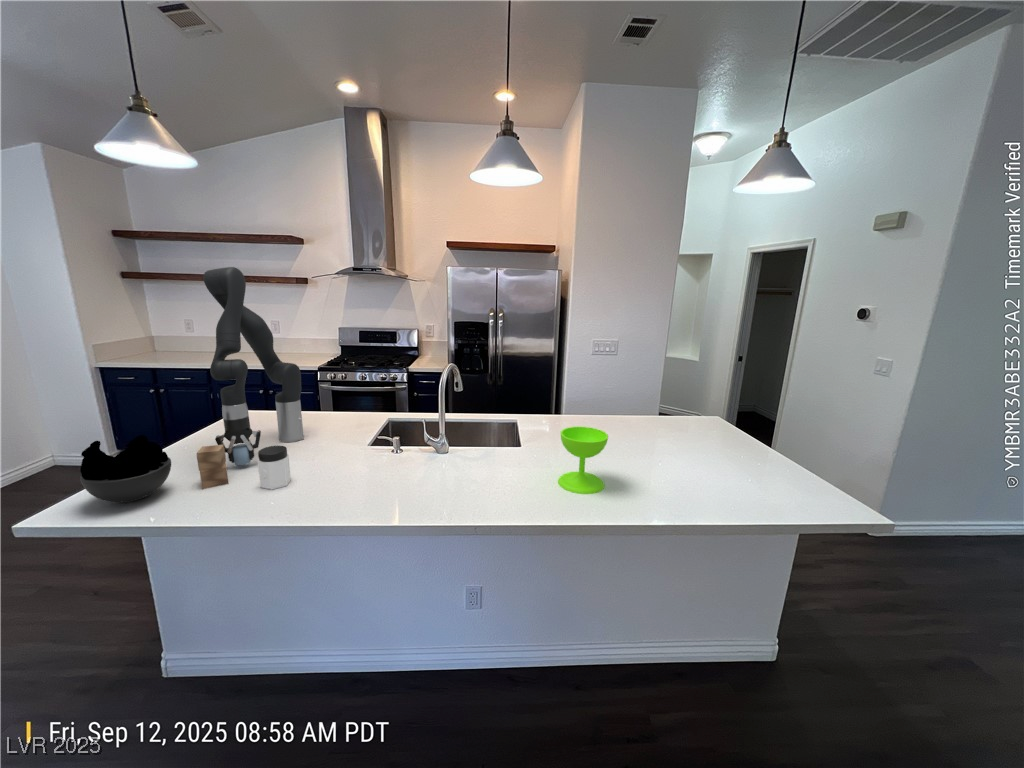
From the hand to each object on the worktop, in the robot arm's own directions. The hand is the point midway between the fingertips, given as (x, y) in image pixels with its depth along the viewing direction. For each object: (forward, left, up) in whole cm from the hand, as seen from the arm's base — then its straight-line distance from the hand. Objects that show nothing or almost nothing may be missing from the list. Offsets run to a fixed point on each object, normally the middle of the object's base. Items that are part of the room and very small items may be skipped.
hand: (242, 460), depth 149 cm
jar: (-11, +20, -3) cm, 23 cm away
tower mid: (+7, +11, +4) cm, 13 cm away
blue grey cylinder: (0, 0, -1) cm, 1 cm away
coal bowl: (+27, +14, -3) cm, 30 cm away
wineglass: (-105, +61, -3) cm, 122 cm away
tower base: (+7, +11, -2) cm, 13 cm away
